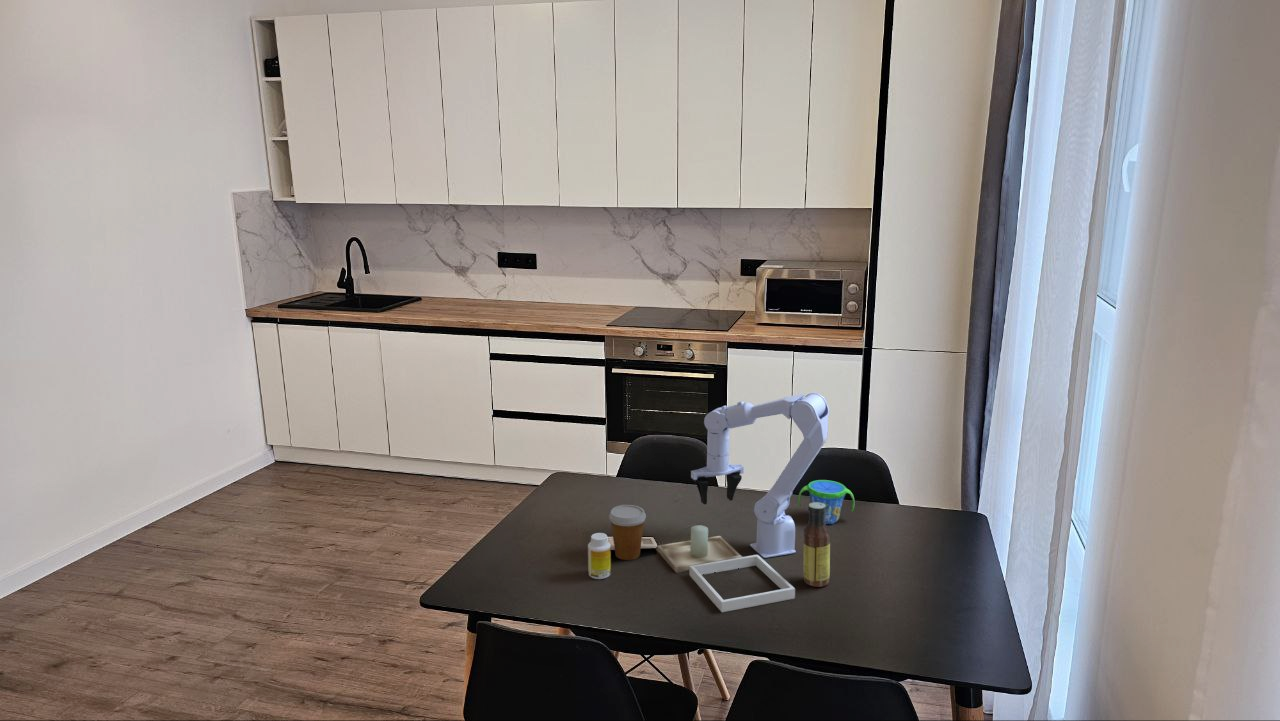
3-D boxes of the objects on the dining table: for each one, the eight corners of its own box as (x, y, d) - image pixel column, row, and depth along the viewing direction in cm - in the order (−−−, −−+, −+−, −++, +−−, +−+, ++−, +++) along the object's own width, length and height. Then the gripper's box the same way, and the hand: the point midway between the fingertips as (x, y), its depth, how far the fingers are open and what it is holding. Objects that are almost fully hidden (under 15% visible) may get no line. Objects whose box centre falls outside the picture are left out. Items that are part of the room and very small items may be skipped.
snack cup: (853, 515, 239) (856, 482, 237) (852, 530, 229) (855, 496, 227) (799, 509, 243) (800, 477, 241) (795, 524, 233) (797, 490, 231)
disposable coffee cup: (642, 564, 209) (642, 520, 207) (605, 561, 211) (604, 517, 208) (649, 548, 218) (649, 505, 216) (613, 545, 220) (613, 502, 217)
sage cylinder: (705, 549, 216) (706, 524, 215) (709, 557, 212) (709, 532, 210) (689, 550, 216) (689, 525, 214) (692, 558, 211) (692, 532, 210)
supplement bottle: (614, 576, 203) (614, 538, 201) (594, 582, 200) (593, 543, 198) (604, 567, 208) (604, 529, 206) (584, 572, 205) (583, 534, 203)
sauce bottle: (830, 578, 202) (834, 502, 198) (827, 590, 197) (831, 511, 192) (803, 574, 204) (807, 498, 200) (799, 585, 199) (803, 508, 194)
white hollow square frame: (757, 563, 210) (757, 554, 209) (794, 598, 193) (795, 588, 192) (689, 575, 204) (689, 565, 203) (721, 612, 187) (722, 602, 186)
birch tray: (719, 540, 223) (720, 535, 222) (741, 561, 211) (741, 556, 210) (657, 550, 217) (657, 545, 217) (675, 573, 205) (676, 567, 205)
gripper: (736, 445, 226) (734, 492, 229) (686, 451, 221) (686, 499, 224) (747, 453, 219) (746, 501, 222) (697, 459, 214) (696, 508, 218)
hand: (716, 501), depth 223 cm, fingers open, 7 cm apart
